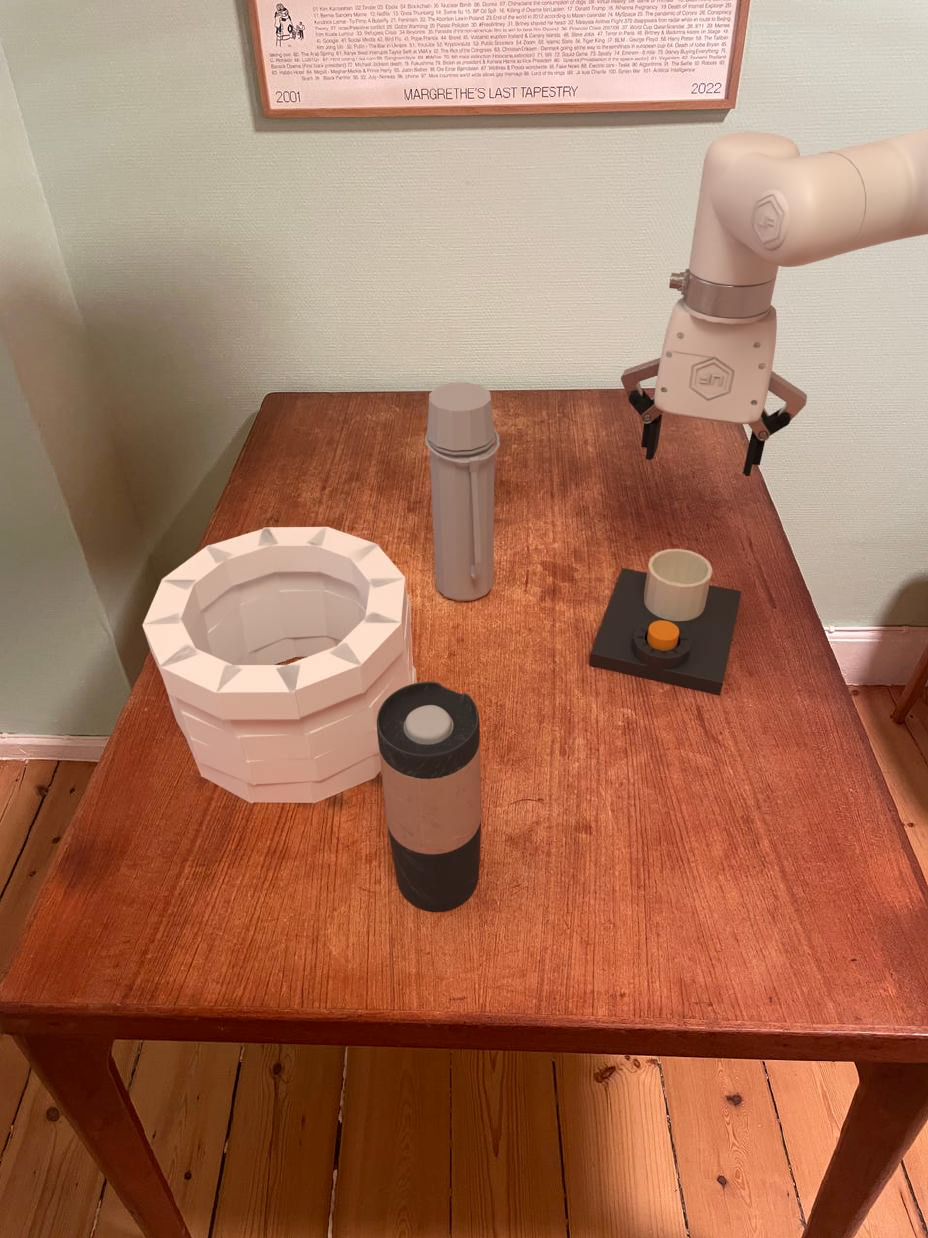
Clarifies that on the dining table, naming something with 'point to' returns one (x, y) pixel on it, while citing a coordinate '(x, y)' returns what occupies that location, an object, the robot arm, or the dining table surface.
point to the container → (283, 659)
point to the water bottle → (462, 488)
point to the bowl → (677, 584)
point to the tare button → (663, 635)
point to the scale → (697, 647)
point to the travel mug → (432, 792)
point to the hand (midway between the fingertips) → (698, 461)
